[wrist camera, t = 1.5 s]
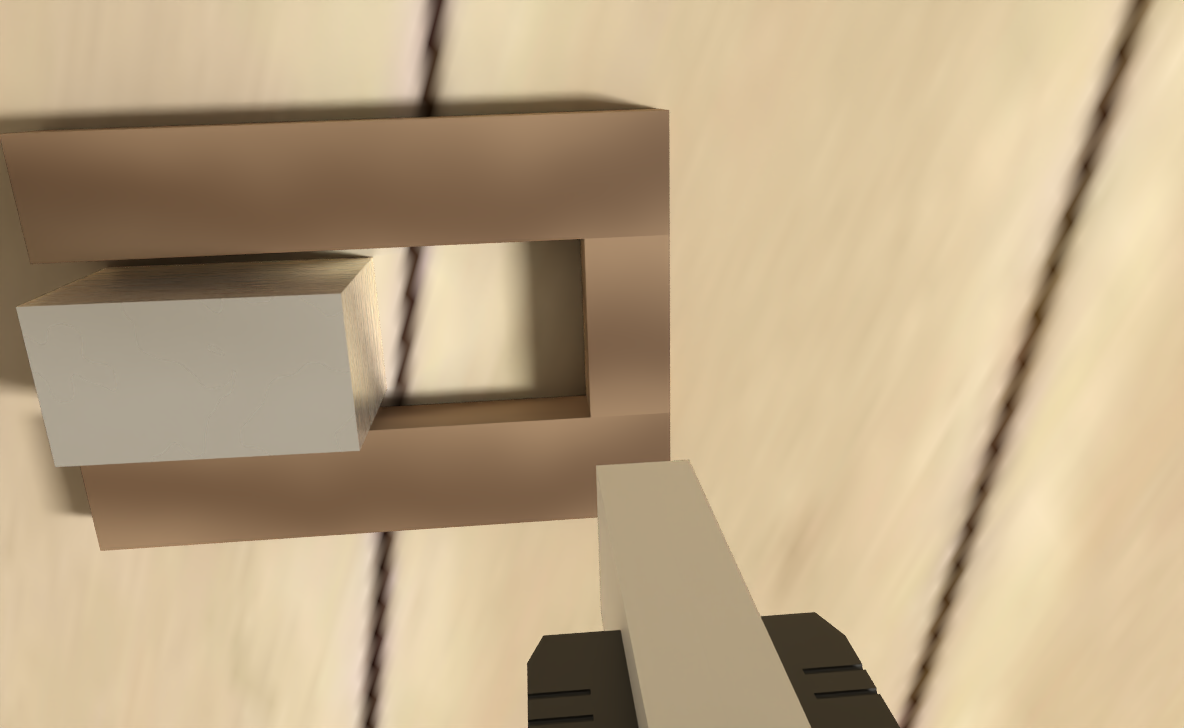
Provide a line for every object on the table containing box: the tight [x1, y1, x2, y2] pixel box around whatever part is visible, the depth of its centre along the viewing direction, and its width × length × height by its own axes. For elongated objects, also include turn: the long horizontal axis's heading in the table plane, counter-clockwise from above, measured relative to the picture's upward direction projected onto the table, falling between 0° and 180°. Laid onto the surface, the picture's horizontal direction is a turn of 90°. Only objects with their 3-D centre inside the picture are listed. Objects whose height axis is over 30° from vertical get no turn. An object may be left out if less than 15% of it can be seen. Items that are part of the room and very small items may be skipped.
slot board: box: [0, 109, 670, 551], centre depth 26 cm, size 13×18×2 cm
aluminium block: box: [16, 257, 387, 467], centre depth 24 cm, size 4×8×5 cm, turn 91°
